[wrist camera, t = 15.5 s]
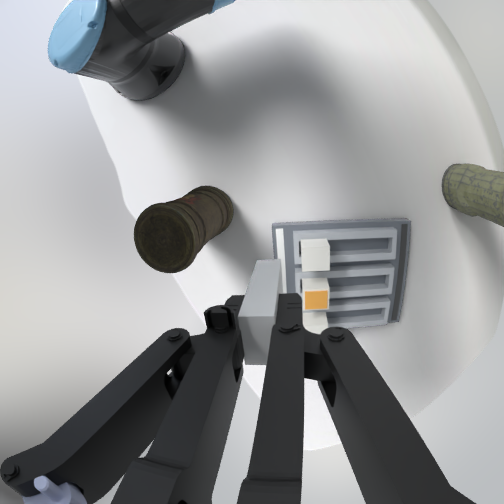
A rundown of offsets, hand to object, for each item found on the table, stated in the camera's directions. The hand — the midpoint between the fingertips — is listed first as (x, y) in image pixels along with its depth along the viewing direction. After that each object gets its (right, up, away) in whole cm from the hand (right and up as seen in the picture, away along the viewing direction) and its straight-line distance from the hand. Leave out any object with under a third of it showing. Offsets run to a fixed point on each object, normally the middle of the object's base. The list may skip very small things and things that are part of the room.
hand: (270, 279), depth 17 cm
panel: (+15, -2, +30) cm, 33 cm away
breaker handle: (+9, -3, +29) cm, 30 cm away
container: (-9, +9, +30) cm, 32 cm away
